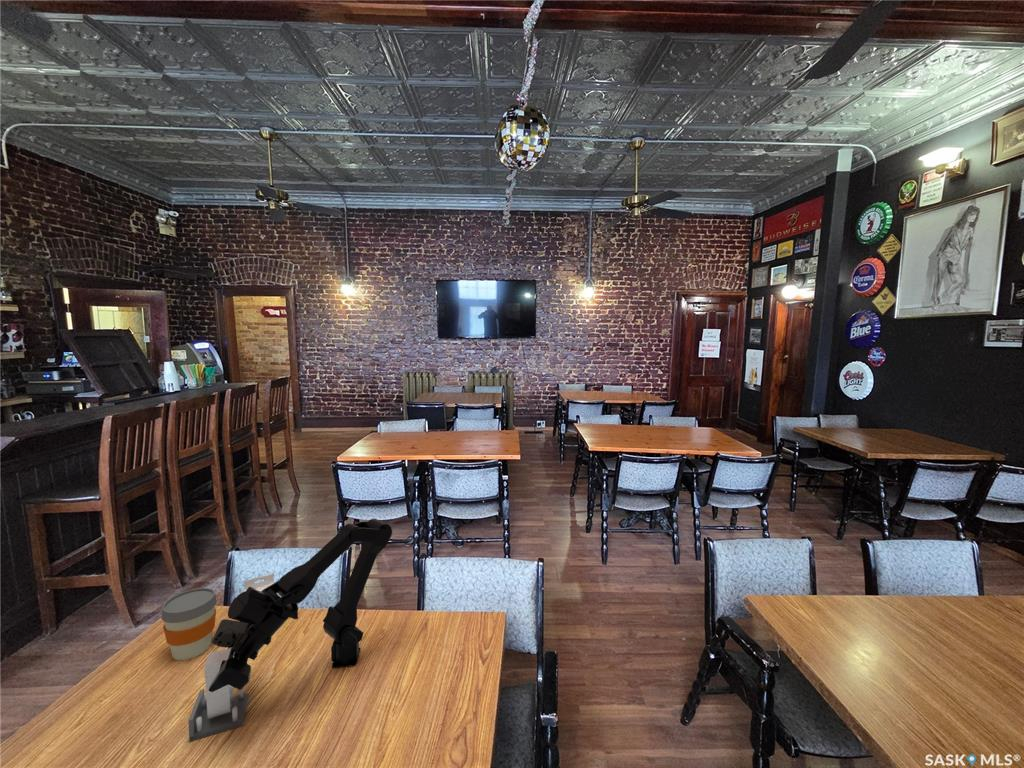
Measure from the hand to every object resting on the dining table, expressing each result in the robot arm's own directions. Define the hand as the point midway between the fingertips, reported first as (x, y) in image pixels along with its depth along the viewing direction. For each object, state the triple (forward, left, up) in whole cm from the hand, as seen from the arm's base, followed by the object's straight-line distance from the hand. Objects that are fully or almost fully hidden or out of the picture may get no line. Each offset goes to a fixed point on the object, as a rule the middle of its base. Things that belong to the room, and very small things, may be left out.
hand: (212, 683), depth 97 cm
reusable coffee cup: (+19, -26, -9) cm, 34 cm away
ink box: (+4, -35, -9) cm, 36 cm away
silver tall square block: (-1, 0, -7) cm, 7 cm away
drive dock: (-1, 0, -9) cm, 9 cm away
